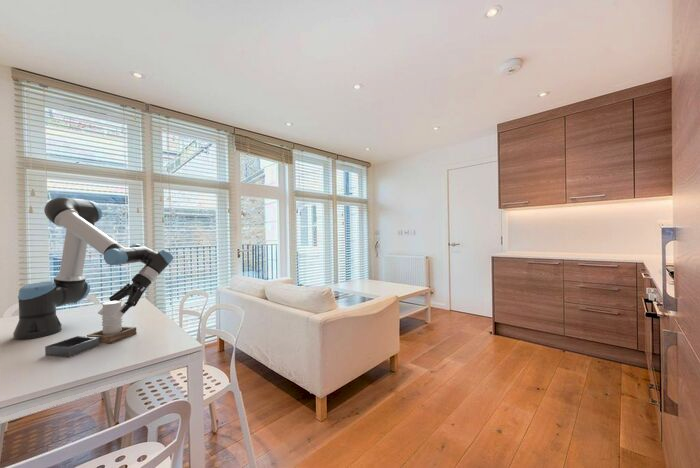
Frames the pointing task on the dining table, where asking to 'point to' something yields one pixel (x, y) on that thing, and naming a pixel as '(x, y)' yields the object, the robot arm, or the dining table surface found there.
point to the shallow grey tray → (71, 346)
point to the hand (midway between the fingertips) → (107, 316)
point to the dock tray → (116, 337)
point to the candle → (108, 322)
